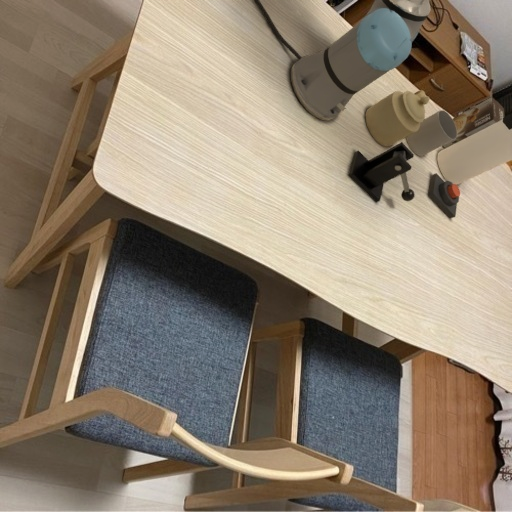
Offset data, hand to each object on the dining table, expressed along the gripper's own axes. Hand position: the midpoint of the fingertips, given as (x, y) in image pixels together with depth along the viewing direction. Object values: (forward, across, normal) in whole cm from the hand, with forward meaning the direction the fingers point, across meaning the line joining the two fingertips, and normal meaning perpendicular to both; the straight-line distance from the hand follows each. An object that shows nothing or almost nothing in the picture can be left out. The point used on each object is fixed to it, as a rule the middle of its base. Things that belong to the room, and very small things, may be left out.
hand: (506, 123), depth 130 cm
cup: (+27, +12, 0) cm, 29 cm away
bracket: (+26, -15, +14) cm, 33 cm away
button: (+23, +2, -13) cm, 27 cm away
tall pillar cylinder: (+27, +15, -15) cm, 34 cm away
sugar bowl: (+27, +6, +14) cm, 31 cm away
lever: (+20, -15, +10) cm, 27 cm away
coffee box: (+27, +26, -13) cm, 39 cm away
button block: (+26, +2, -13) cm, 30 cm away
